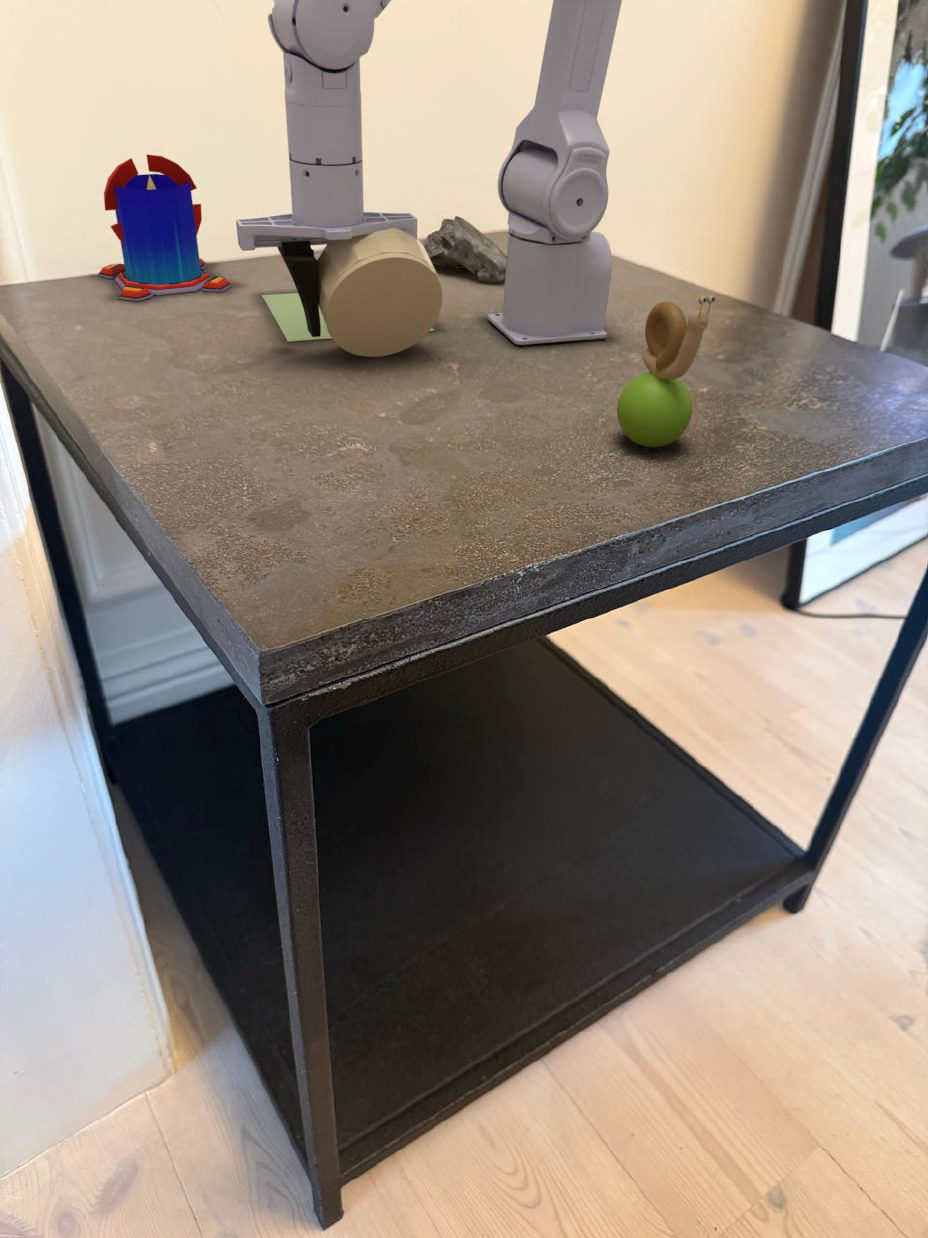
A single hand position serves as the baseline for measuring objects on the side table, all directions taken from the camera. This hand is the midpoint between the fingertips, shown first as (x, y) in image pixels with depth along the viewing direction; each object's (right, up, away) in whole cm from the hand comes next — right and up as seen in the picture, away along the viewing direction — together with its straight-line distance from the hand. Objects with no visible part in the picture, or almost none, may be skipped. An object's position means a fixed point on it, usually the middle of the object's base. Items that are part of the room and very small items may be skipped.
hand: (333, 331), depth 79 cm
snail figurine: (+25, -12, -11) cm, 30 cm away
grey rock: (+12, +15, +25) cm, 31 cm away
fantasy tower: (-20, +10, +17) cm, 28 cm away
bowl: (+5, +1, -3) cm, 6 cm away
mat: (0, +5, +11) cm, 12 cm away
